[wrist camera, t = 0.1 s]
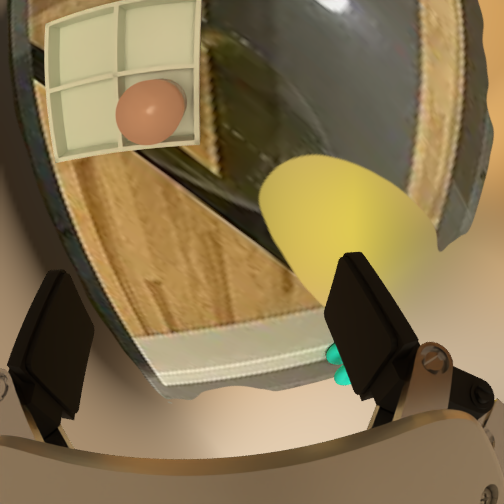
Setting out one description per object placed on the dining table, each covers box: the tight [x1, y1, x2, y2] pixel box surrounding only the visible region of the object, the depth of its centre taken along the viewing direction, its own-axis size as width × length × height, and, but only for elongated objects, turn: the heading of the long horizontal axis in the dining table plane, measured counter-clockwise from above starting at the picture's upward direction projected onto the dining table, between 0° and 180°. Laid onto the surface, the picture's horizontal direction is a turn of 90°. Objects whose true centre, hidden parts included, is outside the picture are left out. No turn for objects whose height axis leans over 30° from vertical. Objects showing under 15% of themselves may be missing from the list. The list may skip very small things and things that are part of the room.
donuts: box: [326, 344, 351, 385], centre depth 67 cm, size 10×10×10 cm
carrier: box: [45, 0, 202, 163], centre depth 26 cm, size 20×20×4 cm
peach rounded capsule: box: [115, 78, 187, 145], centre depth 28 cm, size 7×7×8 cm
